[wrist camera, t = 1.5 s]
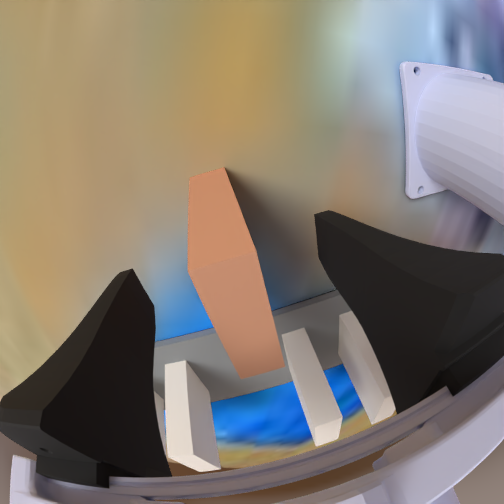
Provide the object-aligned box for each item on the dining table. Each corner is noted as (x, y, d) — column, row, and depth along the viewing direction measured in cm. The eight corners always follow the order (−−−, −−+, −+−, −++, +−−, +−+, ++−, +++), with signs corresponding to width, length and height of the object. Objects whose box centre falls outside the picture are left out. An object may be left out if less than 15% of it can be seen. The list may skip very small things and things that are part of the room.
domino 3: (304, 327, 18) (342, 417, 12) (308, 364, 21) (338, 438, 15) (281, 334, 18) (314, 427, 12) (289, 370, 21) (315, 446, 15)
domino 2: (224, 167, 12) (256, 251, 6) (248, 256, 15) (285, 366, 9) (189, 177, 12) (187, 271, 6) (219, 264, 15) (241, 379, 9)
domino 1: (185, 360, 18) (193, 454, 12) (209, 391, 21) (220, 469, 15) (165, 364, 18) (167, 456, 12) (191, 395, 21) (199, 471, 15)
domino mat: (384, 272, 18) (388, 276, 17) (372, 346, 23) (375, 350, 22) (88, 355, 17) (87, 360, 16) (145, 408, 22) (145, 412, 22)
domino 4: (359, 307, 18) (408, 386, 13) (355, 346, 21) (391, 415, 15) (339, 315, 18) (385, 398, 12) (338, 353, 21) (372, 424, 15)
